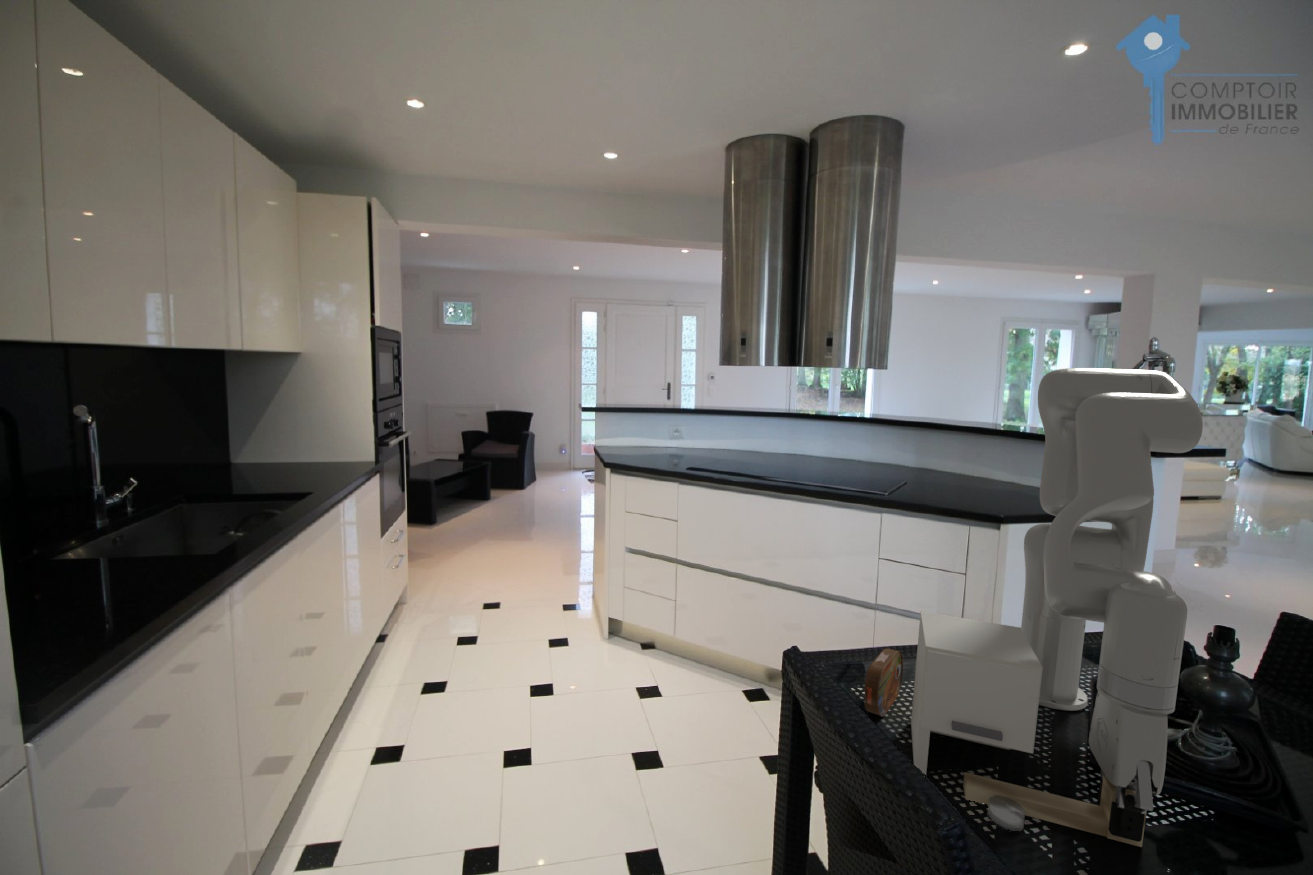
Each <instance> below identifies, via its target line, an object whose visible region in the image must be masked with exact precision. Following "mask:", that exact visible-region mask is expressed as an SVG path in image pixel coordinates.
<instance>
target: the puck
mask: <svg viewBox="0 0 1313 875" xmlns="http://www.w3.org/2000/svg"><path fill="white" fill-rule="evenodd" d="M987 806H988V808H987V816H988V815H989V817H990V818H991V819H992V820H993V821H994V822H995V823H996V824H999V825H1000V826H1002V827H1004V828H1006V829H1009V830H1012V831H1019V832H1021V831H1023V830H1024V827H1025V825H1024V824H1025V818H1026V815H1025V811H1024V809H1023V807H1022V806H1021V805H1020V804H1018V803H1017V802H1015V801H1014V800H1012V799H1010V798H1007V797H1004V796H992V797H990V798H989V804H988V805H987ZM989 817H988V818H989Z"/></svg>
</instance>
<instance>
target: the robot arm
mask: <svg viewBox="0 0 1313 875" xmlns="http://www.w3.org/2000/svg"><path fill="white" fill-rule="evenodd" d="M1037 408H1038V413H1039V417H1040V420H1041V423H1042V427H1043V430H1044V436H1045V438H1044V439H1045V441H1044V449H1043V457H1042V458H1043V459H1042V468H1041V474H1040V475H1041V476H1040V486H1039V503H1040V506H1041V508H1042V510H1043V511H1044V512H1045V513H1047V514H1049V515H1050V516H1051V515H1052V516H1054V517H1055V518H1053V520H1052V522H1046V523H1038V524H1036V525H1033V526H1032V527H1029V529H1028V530H1026V533H1025V535H1024V540H1023V551H1024V552H1023V553H1024V567H1025V572H1024V573H1025V580H1024V583H1025V584H1024V585H1025V586H1024V593H1023V594H1024V596H1023V604H1022V605H1023V606H1022V613H1021V614H1022V616H1021V625H1020V628H1021V630H1022V631H1023V633H1024V635H1025V637H1026V639H1027V640H1028V642H1029V644H1030V646H1031V648H1032V649H1033V651H1034V653H1035V655H1036V657H1037V658H1038V660H1039V662H1040V664H1041V666H1042V667H1043V669H1042V678H1041V687H1040V696H1039V705H1038V706H1042V707H1044V708H1045V707H1046V708H1049V709H1052V710H1053V709H1055V710H1060V711H1070V712H1073V711H1079V710H1083V709H1086V707H1087V706H1088V701H1089V698H1088V695H1087V694H1086V693H1085V692H1084V691H1083V689H1081V688H1080V687H1079V685H1080V675H1081V666H1082V659H1083V651H1084V650H1083V649H1084V648H1083V647H1084V640H1085V632H1086V624H1087V621H1090V622H1096V623H1103V630H1102V637H1101V638H1102V639H1101V646H1100V647H1101V648H1100V655H1099V663H1098V672H1097V681H1096V690H1097V694H1096V698H1095V703H1094V707H1093V712H1092V718H1091V724H1090V729H1089V735H1088V736H1089V737H1088V744H1089V748H1090V751H1091V752H1092V755H1093V757H1094V758H1095V760H1096V762H1097V763H1098V766H1099V767H1100V778H1101V780H1100V781H1099V789H1098V798H1097V804H1096V805H1099V806H1100V800H1101V792H1102V784H1103V776H1106V777H1107V779H1108V780H1109V781H1110V782H1111V783H1112V784H1113V785H1114V786H1116V802H1113V801H1112V804H1111V812H1110V820H1109V828H1108V829H1109V831H1110V833H1111V834H1112V835H1114V836H1118V837H1122V838H1126V839H1130V840H1133V841H1137V842H1140V841H1141V840H1142V833H1143V825H1144V818H1145V814H1146V815H1147V811H1150V812H1153V810H1154V802H1153V800H1154V799H1153V796H1158V795H1160V794H1161V793H1162V789H1163V786H1164V780H1165V779H1164V778H1165V773H1166V764H1167V752H1168V751H1167V750H1168V749H1167V748H1168V715H1170V714H1173V713H1174V712H1175V710H1176V702H1177V695H1178V686H1179V679H1180V672H1181V664H1182V656H1183V650H1184V643H1185V641H1184V640H1185V634H1186V629H1187V628H1186V627H1187V619H1188V607H1187V603H1186V601H1185V600H1184V599H1183V598H1182V597H1181V596H1179V595H1178V594H1177V593H1176V590H1175V589H1174V588H1173V587H1172V585H1171V584H1170V582H1169V581H1168V580H1167V579H1166V578H1164V576H1162V575H1160V574H1157V573H1154V572H1149V571H1145V565H1146V561H1147V553H1148V546H1149V540H1150V539H1149V538H1150V533H1151V525H1152V518H1153V513H1154V496H1155V488H1154V478H1153V469H1152V457H1151V456H1152V455H1151V452H1156V453H1173V454H1183V453H1187V452H1190V451H1192V450H1193V449H1195V448H1196V447H1197V445H1198V444H1199V443H1200V440H1201V438H1202V434H1203V429H1204V428H1203V427H1204V426H1203V425H1204V423H1203V416H1202V413H1201V410H1200V407H1199V405H1198V404H1197V402H1196V400H1195V398H1194V397H1193V396H1192V394H1191V393H1190V392H1189V391H1188V390H1187V389H1186V388H1185V387H1183V386H1182V384H1181V383H1179V382H1178V381H1177V380H1176V379H1175V378H1174V377H1173V376H1171V375H1170V374H1168V373H1167V372H1164V371H1159V370H1156V369H1155V370H1151V369H1131V368H1130V369H1127V368H1124V369H1123V368H1102V367H1097V368H1096V367H1071V368H1069V367H1068V368H1059V369H1055V370H1051V371H1049V372H1048V373H1045V375H1043V377H1042V378H1041V380H1040V382H1039V384H1038V389H1037ZM1087 521H1090V522H1100V523H1107V524H1108V523H1109V524H1110V525H1111V528H1101V527H1093V526H1092V527H1091V526H1084V525H1081V524H1083V523H1085V522H1087ZM1133 781H1134V782H1133ZM1125 789H1128V790H1132V791H1135V795H1130V794H1128V795H1126V796H1125Z"/></svg>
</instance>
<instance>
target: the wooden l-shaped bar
mask: <svg viewBox="0 0 1313 875" xmlns="http://www.w3.org/2000/svg"><path fill="white" fill-rule="evenodd" d="M962 781H963V782H962V783H963V784H962V786H963V787H962V788H963V791H964V792H963V793H964V798H965V800H966V801H969V800H970V801H971V802H973V801H975V802H974V803H977V802H978V803H977V804H981V803H984V804H983V805H985V804H987V805H986V806H988V804H989V798H990V797H992V796H1004V797H1007V798H1010V799H1012V800H1014V801H1015V802H1017V803H1018V804H1020V805H1021V806H1022V807H1023V809H1024V811H1025V817H1029V818H1030V817H1031V818H1034V819H1038V820H1042V821H1045V822H1050V823H1054V824H1057V825H1061V826H1065V827H1068V828H1072V829H1075V830H1080V831H1084V832H1088V833H1091V834H1094V835H1099V836H1103V837H1105V838H1107V839H1109V840H1114V841H1116V842H1120V843H1125V844H1127V845H1128V844H1129V845H1132V846H1136V847H1140V848H1143V840H1144V834H1145V833H1144V832H1145V827H1146V820H1147V819H1146V818H1147V813H1146V814H1145V818H1144V825H1143V833H1142V840H1141V841H1140V842H1137V841H1133V840H1130V839H1126V838H1122V837H1118V836H1114V835H1112V834H1111V833H1110V831H1109V829H1108V828H1109V820H1110V812H1111V804H1112V801H1113V802H1116V786H1114V785H1113V784H1112V783H1111V782H1110V781H1109V780H1108V779H1107V777H1106V776H1103V780H1102V781H1103V784H1102V792H1101V800H1100V806H1099V805H1097V804H1094V803H1090V802H1085V801H1082V800H1079V799H1078V800H1077V799H1075V798H1070V797H1065V796H1061V795H1058V794H1054V793H1049V792H1046V791H1042V790H1038V789H1033V788H1030V787H1026V786H1022V785H1018V784H1014V783H1009V782H1005V781H1003V780H1002V781H1001V780H998V779H993V778H989V777H985V776H982V775H977V774H973V773H970V772H964V773H963V780H962ZM1128 794H1130V795H1135V791H1132V790H1128V789H1125V796H1126V795H1128Z"/></svg>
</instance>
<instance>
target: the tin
mask: <svg viewBox="0 0 1313 875" xmlns="http://www.w3.org/2000/svg"><path fill="white" fill-rule="evenodd" d="M903 672H904V658H903V654H902V652H901V651H900V650H895V649H892V648H891V649H890V648H884V649H883V650H881V651H880V652H879V654H877V656H876V657H875V658H874V660H873V661H872V662H871V664H870V665H869V666H868V668H867V671H866V674H865V679H864V703H863V704H864V705H863V706H864V709H865V710H866V711H867V712H868V713H871V714H873V715H877V716H880V717H885V716H886V714H887V713H888V711H889V710H890V708H891V707H892V706H893V704H894V703H895V701H896V700H897V698H898V696H899V693H900V691H901V686H902V682H903Z"/></svg>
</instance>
